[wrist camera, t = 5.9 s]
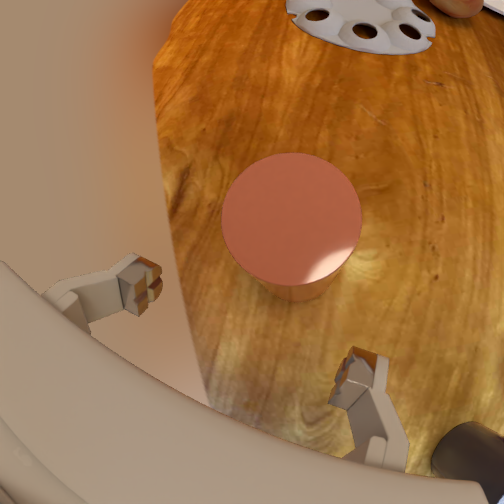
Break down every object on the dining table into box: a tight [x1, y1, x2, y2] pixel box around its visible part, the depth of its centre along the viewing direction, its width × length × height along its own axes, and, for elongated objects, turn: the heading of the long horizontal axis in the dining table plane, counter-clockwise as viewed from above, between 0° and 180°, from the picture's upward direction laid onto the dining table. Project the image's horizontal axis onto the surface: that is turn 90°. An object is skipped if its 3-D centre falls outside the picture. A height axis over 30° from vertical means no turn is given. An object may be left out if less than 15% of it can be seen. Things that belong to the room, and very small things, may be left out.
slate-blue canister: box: [431, 422, 504, 504], centre depth 10 cm, size 6×6×10 cm
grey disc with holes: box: [286, 0, 435, 55], centre depth 26 cm, size 20×20×2 cm
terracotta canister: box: [221, 153, 362, 303], centre depth 16 cm, size 6×6×10 cm
